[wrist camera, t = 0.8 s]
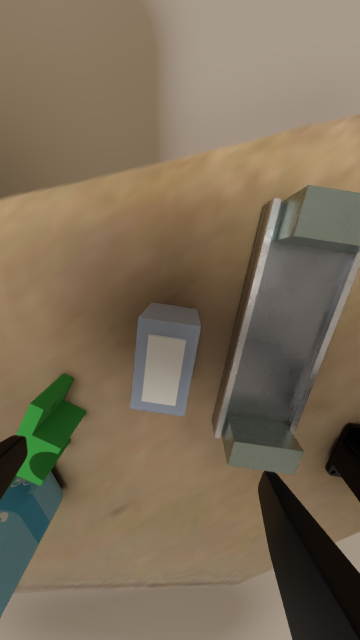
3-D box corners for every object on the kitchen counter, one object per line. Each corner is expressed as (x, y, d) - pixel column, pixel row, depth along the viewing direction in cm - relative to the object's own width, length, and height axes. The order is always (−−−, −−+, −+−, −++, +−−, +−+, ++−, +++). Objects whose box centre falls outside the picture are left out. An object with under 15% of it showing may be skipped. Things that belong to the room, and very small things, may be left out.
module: (197, 308, 17) (201, 327, 12) (185, 377, 19) (184, 419, 14) (151, 302, 17) (137, 318, 12) (144, 371, 19) (129, 411, 14)
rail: (354, 220, 15) (424, 203, 10) (278, 430, 20) (303, 476, 16) (262, 206, 15) (294, 182, 10) (211, 421, 20) (218, 464, 16)
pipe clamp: (60, 458, 23) (30, 505, 18) (30, 444, 22) (-9, 489, 18) (98, 389, 20) (73, 425, 15) (64, 372, 19) (28, 404, 15)
